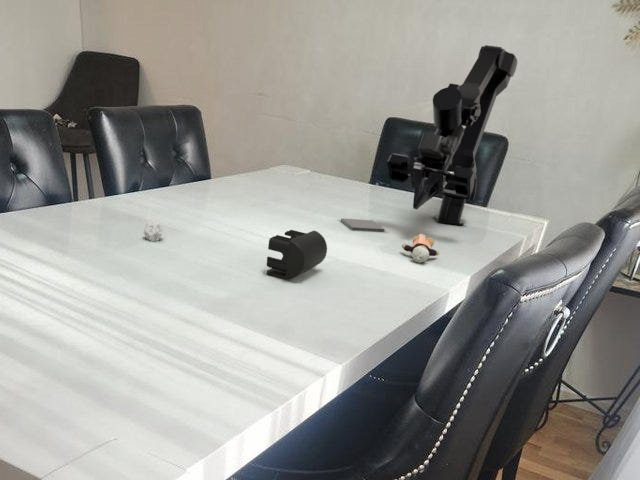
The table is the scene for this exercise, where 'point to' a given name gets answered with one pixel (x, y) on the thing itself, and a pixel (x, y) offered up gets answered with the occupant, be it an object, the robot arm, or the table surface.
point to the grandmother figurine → (421, 248)
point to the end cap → (296, 253)
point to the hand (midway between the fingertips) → (414, 207)
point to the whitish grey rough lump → (153, 231)
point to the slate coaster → (362, 225)
